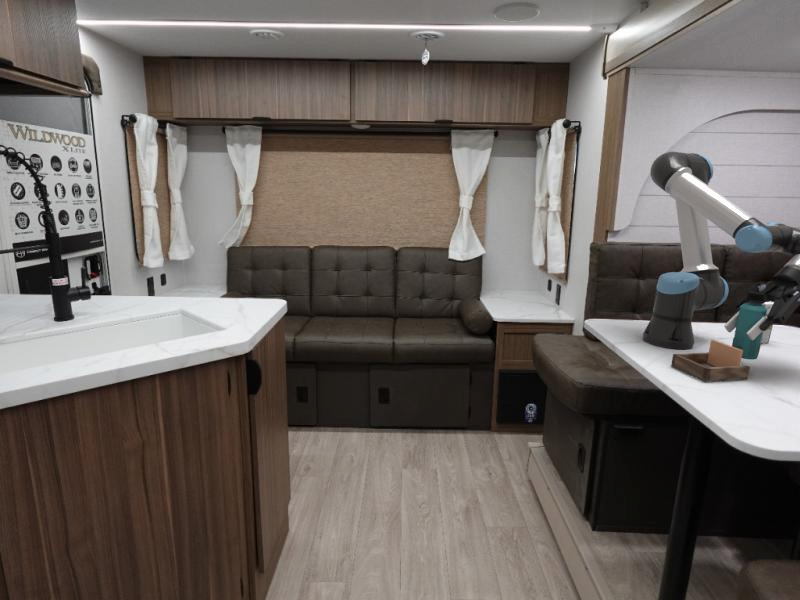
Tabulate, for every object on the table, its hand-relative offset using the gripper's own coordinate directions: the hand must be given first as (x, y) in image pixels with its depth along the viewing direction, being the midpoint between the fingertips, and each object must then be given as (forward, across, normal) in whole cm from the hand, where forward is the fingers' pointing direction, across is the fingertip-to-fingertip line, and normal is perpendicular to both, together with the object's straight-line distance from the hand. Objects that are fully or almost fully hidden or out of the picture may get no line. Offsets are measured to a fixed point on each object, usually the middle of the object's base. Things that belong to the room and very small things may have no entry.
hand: (738, 332), depth 136 cm
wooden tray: (+13, 0, -3) cm, 14 cm away
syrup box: (-17, +24, -35) cm, 46 cm away
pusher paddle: (+9, 0, -5) cm, 11 cm away
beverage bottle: (+4, 0, -9) cm, 9 cm away
